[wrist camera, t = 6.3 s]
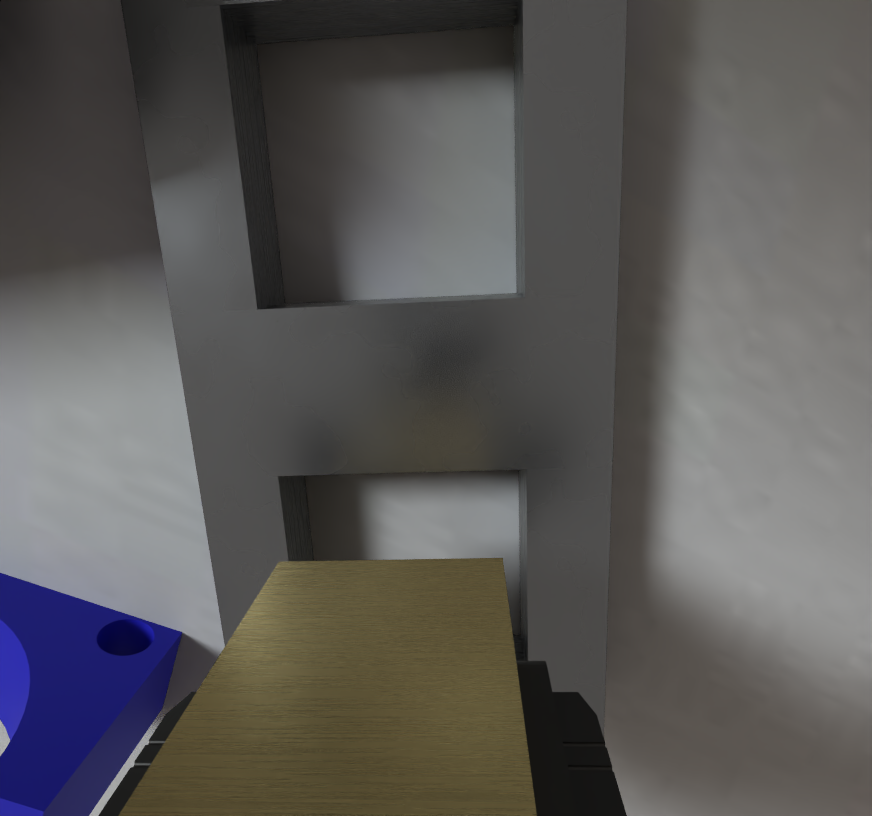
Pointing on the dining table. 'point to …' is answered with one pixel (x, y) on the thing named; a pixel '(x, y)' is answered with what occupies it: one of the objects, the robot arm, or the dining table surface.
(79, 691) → the cable clip
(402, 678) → the tan rectangular block
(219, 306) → the grey flat frame
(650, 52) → the dining table surface
